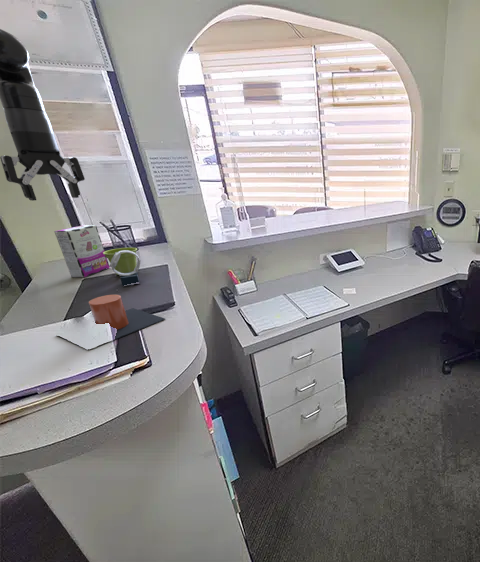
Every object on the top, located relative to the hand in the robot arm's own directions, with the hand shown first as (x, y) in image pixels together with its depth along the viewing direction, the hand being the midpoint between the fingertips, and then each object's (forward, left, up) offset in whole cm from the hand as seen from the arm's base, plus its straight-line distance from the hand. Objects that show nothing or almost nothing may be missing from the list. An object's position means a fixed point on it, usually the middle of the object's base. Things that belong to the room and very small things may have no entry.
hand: (55, 198), depth 82 cm
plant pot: (+17, +13, -28) cm, 36 cm away
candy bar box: (+12, +26, -28) cm, 40 cm away
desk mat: (-7, -28, -28) cm, 40 cm away
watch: (+12, +1, -28) cm, 31 cm away
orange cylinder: (-7, -28, -28) cm, 40 cm away
